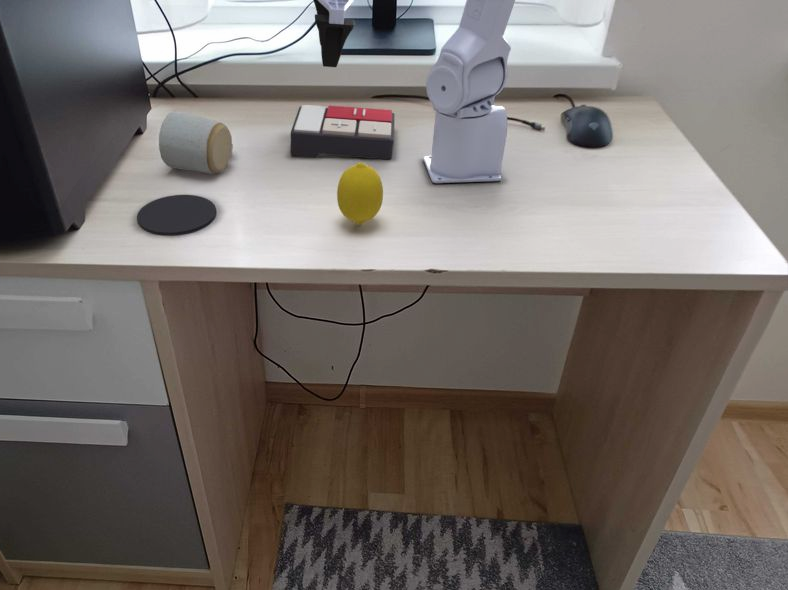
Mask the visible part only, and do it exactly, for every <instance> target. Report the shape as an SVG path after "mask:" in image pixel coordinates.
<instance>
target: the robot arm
mask: <svg viewBox="0 0 788 590" xmlns="http://www.w3.org/2000/svg"><path fill="white" fill-rule="evenodd" d="M312 1H313V4H314V7H315V10H316V14H314V22H315V25H316V29H317V30H318V39H319V45H320V52H321V53H320V54H321V62H322V67H325V68H337V67H338V64H339V62H340V58H341V57H342V56H341V54H342V51H343V49H344V46H345V43H346V41H347V39H348V37H349V36H350V34H351V32H352V31H353V29H354V27H355V19H351V18H345V14H346V10H347V9H348V8H349V7H350V5H351V4H352V3H354V0H312ZM515 3H516V0H466V1H465V4H464V8H463V11H462V15H461V18H460V21H459V26H458V28H457V29H456V30H455V32H454V33H453V34H452V35H451V36H450V37H449V38H448V40H447V41H446V42H445V43H444V44H443V45H442V46H441V49H440V53H439V56H438V58H437V60H436V62H435V63H434V64H433V65H432V67H430V69H429V71H428V73H427V76H426V80H425V81H426V82H425V87H426V88H425V89H426V94H427V97H428V100H429V102H430V103H431V105H432V111H434V112H435V113H434V122H433V123H434V125H433V134H432V144H431V155H428V156H426V155H425V156H424V157H423V163H424V165H425V168H426V170H427V173H428V175H429V177H430V180H431V182H432V183H434V184H450V183H453V184H454V183H475V182H476V183H477V182H478V183H479V182H480V183H481V182H499V181H501V180H502V176H501V171H502V166H503V165H502V164H503V161H504V154H505V148H506V142H507V137H508V114H507V111H506V109H505V107H503V106H502V105H494V104H495V99H496V96H497V95H499V93H501V91H502V90H503V89H504V88H505V85H506V83H507V81H508V60H509V55H510V52H511V50H512V46H511V45H510V43H509V42H508V41H507V39H506V38H505V37H504V35H505V32H506V29H507V26H508V23H509V20H510V17H511V15H512V11H513V8H514V5H515Z"/></svg>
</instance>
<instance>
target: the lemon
mask: <svg viewBox="0 0 788 590" xmlns="http://www.w3.org/2000/svg"><path fill="white" fill-rule="evenodd" d="M383 186H384V185H383V182H382V179H381V176H380V174H379V173H378V171H376V169H375V168H373V167H372V166H370V165H368V164H366V163H364V162H361V161H359V162H357V163H356V164H353V165H351V166H349V167H348V168H347V169H345V170H344V171H343V173H342V174H341V176H340V178H339V181H338V184H337V188H336V189H337V190H336V200H337V206H338V208H339V210H340V212H341V214H342V215H343V217H345V218H346V219H347V220H349V221H351V222H354V223H355V224H356V225H357V226H359V225H362V224H364V223H366V222H368V221H371V220H372V219H374V218H375V217H376V216H377V215H378V214H379V212H380V210H381V207H382V206H383V205H382V204H383V201H384V200H383V198H384V187H383Z"/></svg>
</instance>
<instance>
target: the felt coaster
mask: <svg viewBox="0 0 788 590" xmlns="http://www.w3.org/2000/svg"><path fill="white" fill-rule="evenodd" d="M216 216H217V207H216V205H215V203H214V202H213V201H211V200H210V199H208V198H205V197H204V196H199V195H194V194H175V195H174V194H173V195H167V196H163V197H159V198H157V199H154V200H152V201H150V202H147V203H146V204H145V205H143V206H142V207H141V208H140V209H139V210H138V212H137V214H136V222H137V224H138V226H139V227H140V228H141V229H143V231H146V232H148V233H151V234H155V235H160V236H180V235H185V234H190V233H194V232H197V231H199V230H201V229H204V228H205V227H208V225H210V224H211V223H212V222H213V221H214V220H215V218H216Z"/></svg>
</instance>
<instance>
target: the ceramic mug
mask: <svg viewBox="0 0 788 590" xmlns="http://www.w3.org/2000/svg"><path fill="white" fill-rule="evenodd" d="M233 148H234V145H233V139H232V134H231V131H230V129H229V128H228V126H227V125H226V124H225V123H223V122H221V121H218V120H216V119H212V118H208V117H202V116H198V115H194V114H190V113H187V112H182V111H177V110H173V111H171V112H169V113H168V114H167V115H166V116H165V118H164V119H163V121H162V123H161V126H160V129H159V134H158V150H159V154H160V158H161V159H162V162H163V163H164V164H165V165H166V166H167V167H169V168H173V169H178V170H179V169H180V170H186V171H190V172H191V171H192V172H198V173H203V174H219V173H221V172H222V171H223V170H224V169H225V168H227V166H228V164H229V161H230V159H231V155H232V154H233V150H234V149H233Z"/></svg>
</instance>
